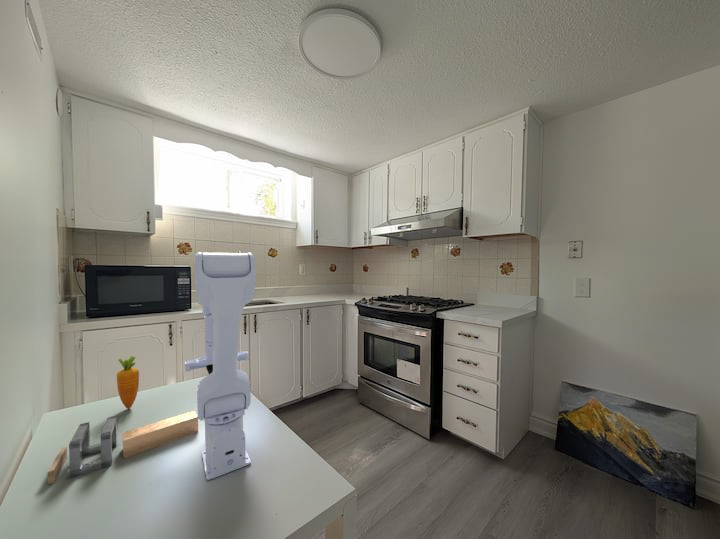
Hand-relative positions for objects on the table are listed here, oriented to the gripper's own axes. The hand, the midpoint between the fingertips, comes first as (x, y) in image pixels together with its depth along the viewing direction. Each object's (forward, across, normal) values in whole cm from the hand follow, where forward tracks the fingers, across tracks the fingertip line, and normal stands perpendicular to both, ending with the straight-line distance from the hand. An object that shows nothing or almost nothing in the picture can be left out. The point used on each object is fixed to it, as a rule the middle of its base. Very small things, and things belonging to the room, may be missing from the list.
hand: (218, 392), depth 73 cm
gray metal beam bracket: (+8, +24, 0) cm, 26 cm away
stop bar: (+8, +29, 0) cm, 30 cm away
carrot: (+8, +20, -23) cm, 31 cm away
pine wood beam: (+8, +12, 0) cm, 15 cm away
